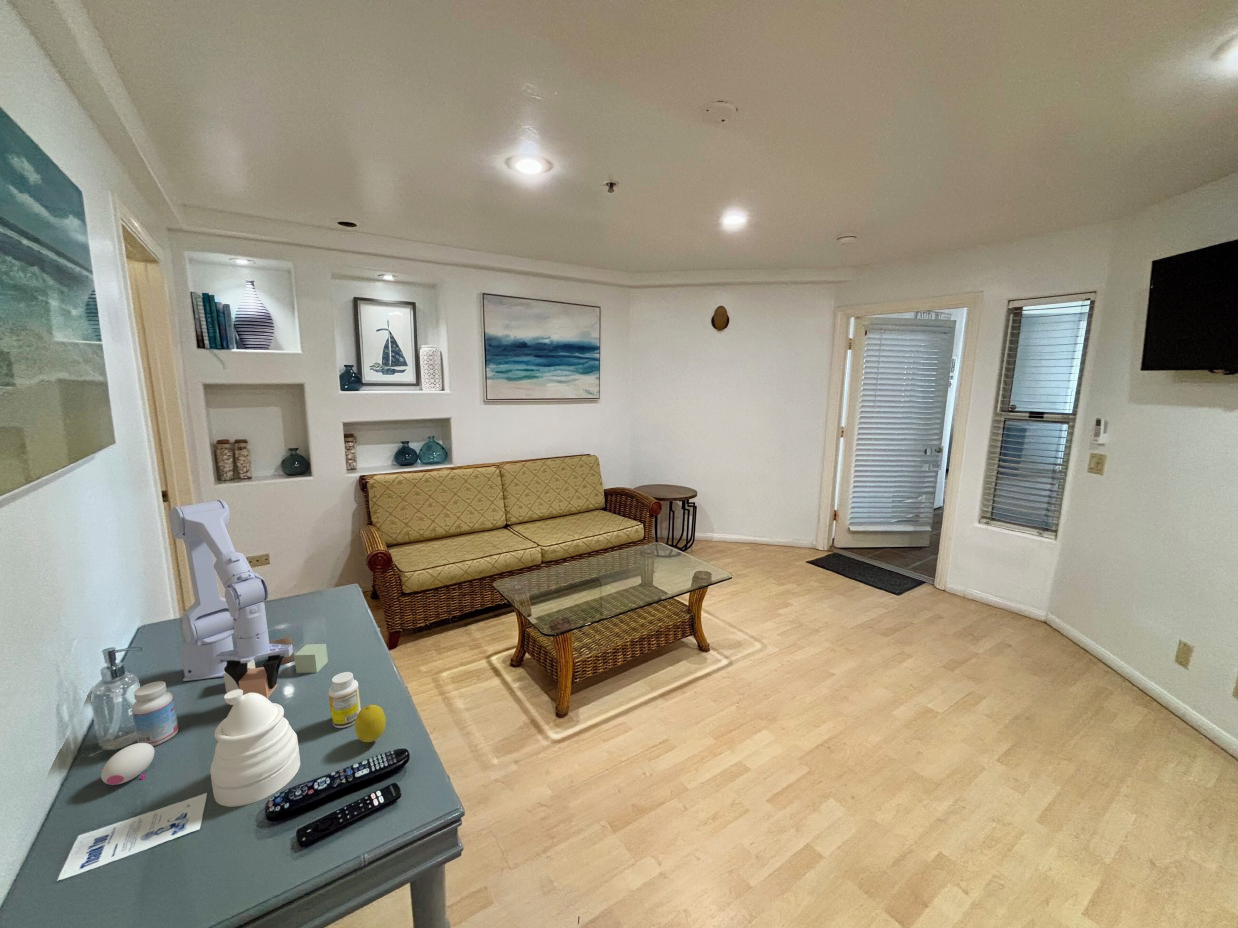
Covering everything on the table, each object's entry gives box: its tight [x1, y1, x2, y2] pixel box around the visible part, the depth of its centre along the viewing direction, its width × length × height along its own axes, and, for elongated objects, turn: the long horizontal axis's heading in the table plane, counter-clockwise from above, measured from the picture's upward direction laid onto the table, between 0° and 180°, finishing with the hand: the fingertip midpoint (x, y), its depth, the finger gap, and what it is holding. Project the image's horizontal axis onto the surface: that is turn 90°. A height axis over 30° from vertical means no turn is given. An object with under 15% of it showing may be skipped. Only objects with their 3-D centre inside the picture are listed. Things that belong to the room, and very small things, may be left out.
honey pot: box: [209, 689, 301, 808], centre depth 88 cm, size 13×13×18 cm
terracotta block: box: [239, 666, 278, 700], centre depth 109 cm, size 5×5×5 cm
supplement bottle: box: [328, 671, 362, 729], centre depth 103 cm, size 6×6×10 cm
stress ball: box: [100, 742, 156, 786], centre depth 89 cm, size 8×8×7 cm
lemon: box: [354, 704, 387, 743], centre depth 97 cm, size 6×6×8 cm
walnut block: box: [269, 636, 295, 667], centre depth 126 cm, size 5×5×5 cm
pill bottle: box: [131, 680, 179, 747], centre depth 98 cm, size 6×6×11 cm
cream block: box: [223, 660, 256, 694], centre depth 117 cm, size 5×5×5 cm
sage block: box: [294, 643, 329, 674], centre depth 124 cm, size 5×5×5 cm
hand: (259, 687), depth 110 cm, fingers closed on terracotta block, 5 cm apart
